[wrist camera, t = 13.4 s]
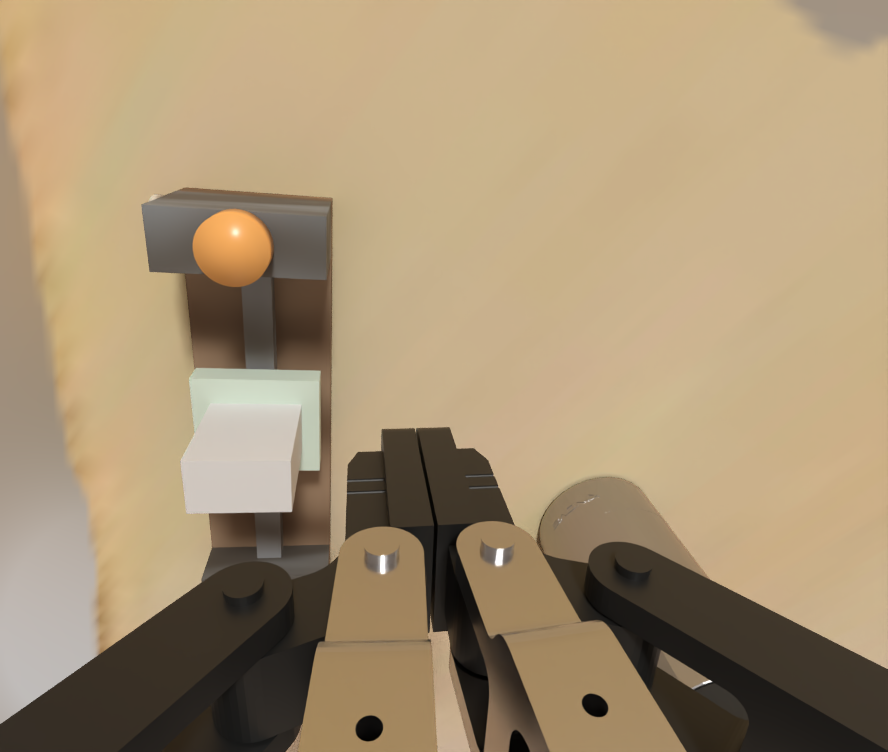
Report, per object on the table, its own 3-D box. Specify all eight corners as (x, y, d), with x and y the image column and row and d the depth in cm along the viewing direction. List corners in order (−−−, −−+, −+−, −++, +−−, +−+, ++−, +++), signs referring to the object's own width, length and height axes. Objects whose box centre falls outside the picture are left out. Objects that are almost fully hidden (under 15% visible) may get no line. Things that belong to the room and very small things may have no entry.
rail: (178, 185, 31) (133, 201, 25) (332, 196, 33) (326, 214, 26) (215, 566, 42) (190, 645, 36) (330, 562, 43) (325, 638, 37)
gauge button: (198, 206, 25) (189, 211, 24) (272, 211, 26) (267, 216, 24) (204, 276, 27) (196, 285, 25) (274, 280, 27) (270, 288, 26)
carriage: (195, 367, 32) (153, 433, 26) (320, 370, 34) (311, 433, 27) (204, 457, 35) (168, 538, 28) (321, 457, 36) (312, 535, 29)
